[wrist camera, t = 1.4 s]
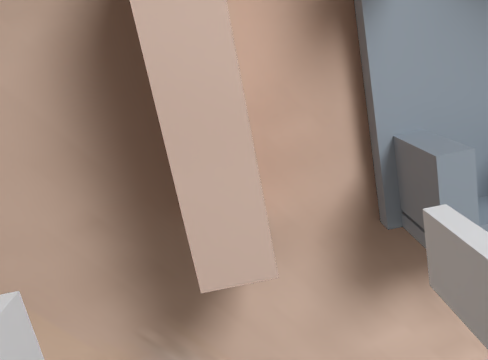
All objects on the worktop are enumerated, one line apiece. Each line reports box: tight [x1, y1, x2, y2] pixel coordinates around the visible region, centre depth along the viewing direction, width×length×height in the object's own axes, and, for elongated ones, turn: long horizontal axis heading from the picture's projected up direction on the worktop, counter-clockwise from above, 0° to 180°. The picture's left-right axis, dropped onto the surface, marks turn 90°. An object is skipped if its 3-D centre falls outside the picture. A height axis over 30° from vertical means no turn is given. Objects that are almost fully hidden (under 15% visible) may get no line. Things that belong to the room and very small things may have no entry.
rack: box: [354, 0, 488, 248], centre depth 25 cm, size 12×24×8 cm, turn 11°
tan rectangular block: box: [130, 0, 279, 293], centre depth 25 cm, size 4×20×9 cm, turn 11°
